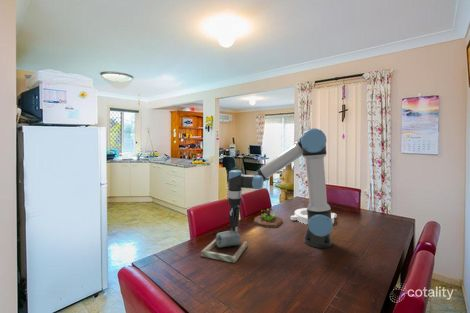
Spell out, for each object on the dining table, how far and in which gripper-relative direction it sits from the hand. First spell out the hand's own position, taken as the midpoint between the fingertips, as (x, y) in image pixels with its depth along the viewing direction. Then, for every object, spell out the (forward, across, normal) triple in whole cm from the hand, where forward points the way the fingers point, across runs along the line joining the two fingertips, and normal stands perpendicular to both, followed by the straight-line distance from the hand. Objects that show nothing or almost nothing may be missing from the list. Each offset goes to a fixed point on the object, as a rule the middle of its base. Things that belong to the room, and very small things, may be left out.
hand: (234, 237), depth 141 cm
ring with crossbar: (+3, -58, +41) cm, 71 cm away
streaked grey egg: (+2, +7, -1) cm, 8 cm away
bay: (+2, +13, 0) cm, 13 cm away
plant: (+3, -38, +11) cm, 40 cm away
